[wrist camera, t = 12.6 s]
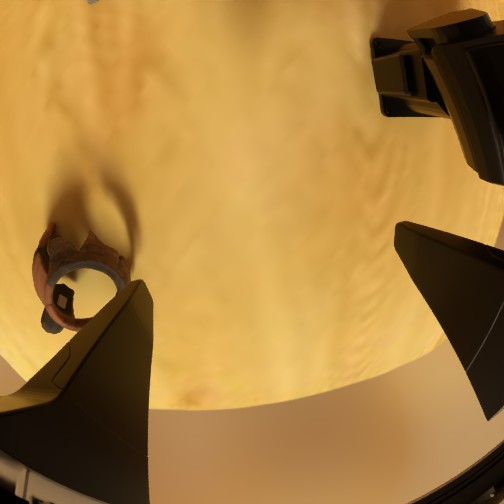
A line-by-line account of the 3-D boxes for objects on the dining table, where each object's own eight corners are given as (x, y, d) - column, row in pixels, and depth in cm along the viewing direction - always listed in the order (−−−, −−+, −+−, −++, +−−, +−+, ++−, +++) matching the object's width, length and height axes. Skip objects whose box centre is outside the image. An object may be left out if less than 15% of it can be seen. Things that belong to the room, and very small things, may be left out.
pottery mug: (56, 189, 20) (50, 231, 14) (136, 227, 27) (160, 274, 21) (19, 289, 21) (16, 349, 16) (91, 312, 28) (105, 367, 23)
